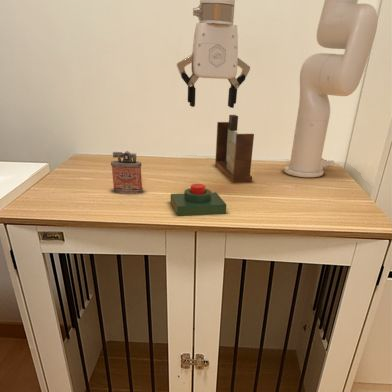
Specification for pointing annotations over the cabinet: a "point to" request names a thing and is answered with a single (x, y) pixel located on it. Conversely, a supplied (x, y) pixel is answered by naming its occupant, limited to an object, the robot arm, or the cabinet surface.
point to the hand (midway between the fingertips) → (211, 106)
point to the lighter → (126, 173)
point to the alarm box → (197, 203)
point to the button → (198, 188)
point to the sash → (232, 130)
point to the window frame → (234, 154)
